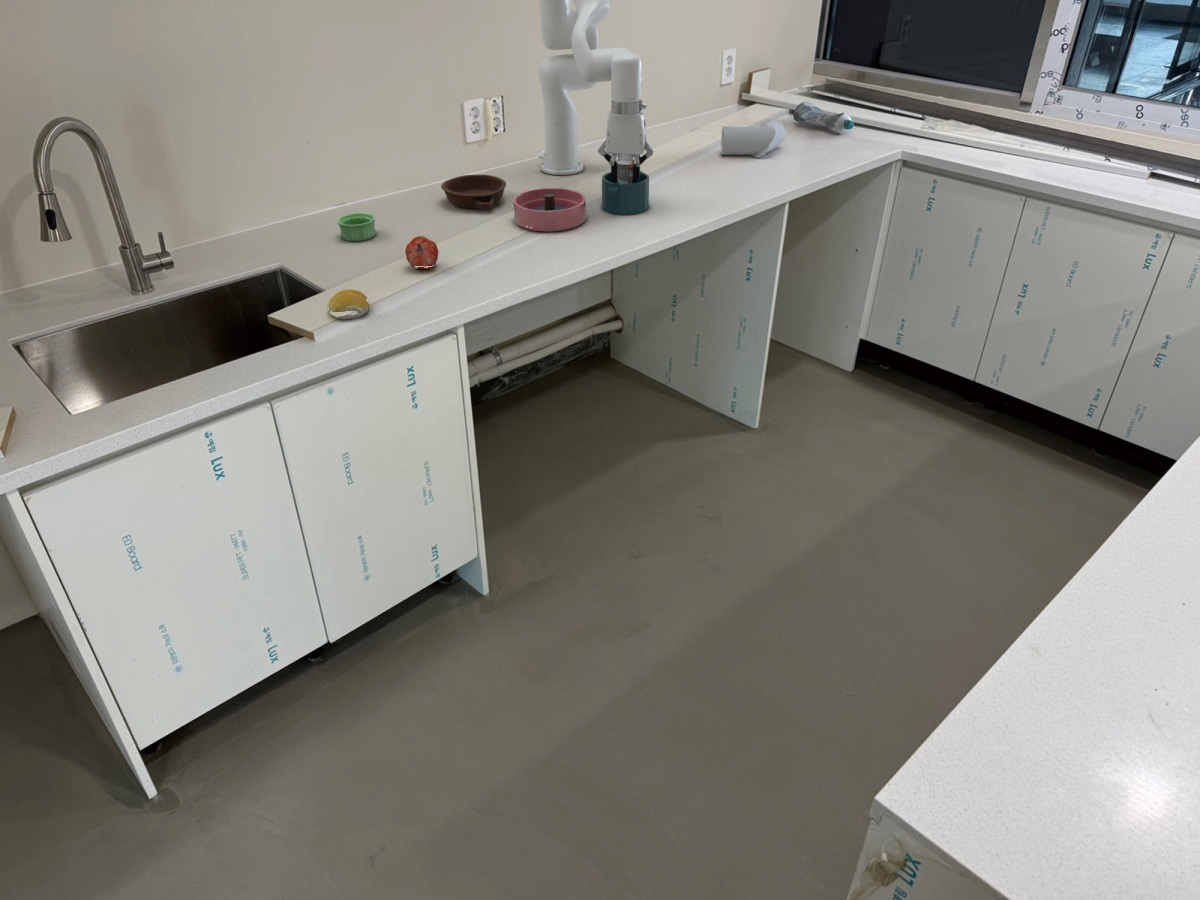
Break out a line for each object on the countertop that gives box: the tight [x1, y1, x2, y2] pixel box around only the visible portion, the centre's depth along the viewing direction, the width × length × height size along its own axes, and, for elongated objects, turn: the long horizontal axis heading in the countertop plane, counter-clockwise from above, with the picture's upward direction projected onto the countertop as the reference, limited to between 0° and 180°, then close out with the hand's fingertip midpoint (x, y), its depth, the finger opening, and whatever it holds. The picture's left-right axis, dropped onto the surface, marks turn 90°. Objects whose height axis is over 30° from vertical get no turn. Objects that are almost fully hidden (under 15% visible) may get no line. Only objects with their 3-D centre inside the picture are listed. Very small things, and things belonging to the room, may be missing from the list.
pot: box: [601, 170, 650, 216], centre depth 224 cm, size 12×18×8 cm
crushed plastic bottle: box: [792, 101, 855, 135], centre depth 289 cm, size 13×7×25 cm
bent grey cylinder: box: [720, 119, 787, 159], centre depth 265 cm, size 18×11×20 cm
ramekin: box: [337, 212, 376, 242], centre depth 209 cm, size 9×9×4 cm
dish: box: [440, 174, 507, 210], centre depth 229 cm, size 18×22×5 cm
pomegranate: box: [404, 235, 440, 270], centre depth 191 cm, size 7×7×10 cm
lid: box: [532, 194, 568, 211], centre depth 216 cm, size 13×13×6 cm
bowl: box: [513, 187, 587, 233], centre depth 216 cm, size 18×18×6 cm
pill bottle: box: [616, 154, 635, 184], centre depth 220 cm, size 5×5×8 cm
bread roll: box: [327, 288, 370, 320], centre depth 173 cm, size 8×9×4 cm
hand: (625, 179), depth 222 cm, fingers closed on pill bottle, 4 cm apart
